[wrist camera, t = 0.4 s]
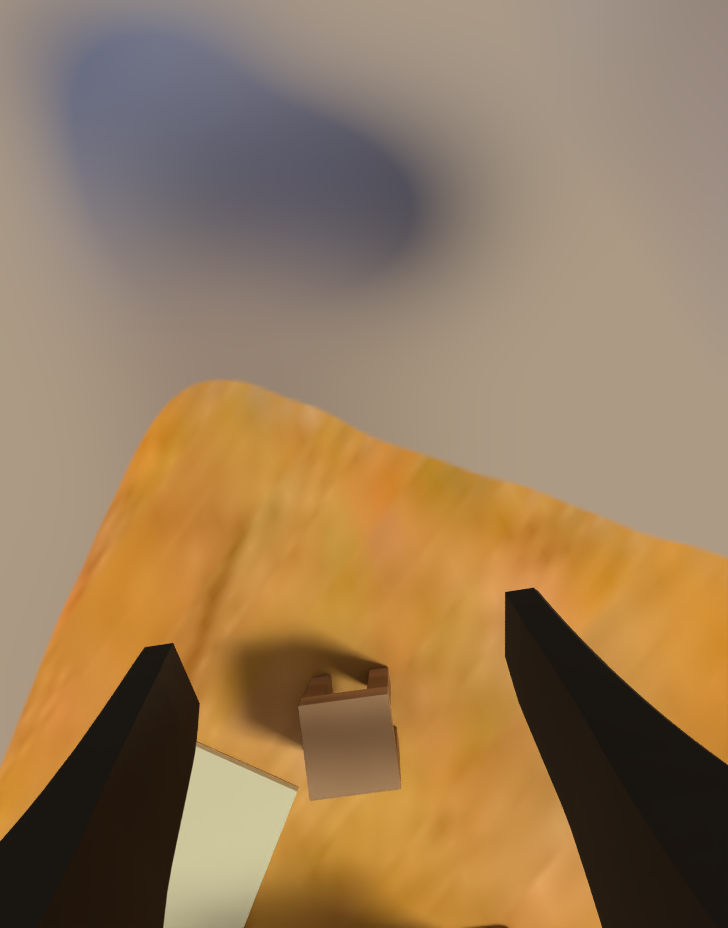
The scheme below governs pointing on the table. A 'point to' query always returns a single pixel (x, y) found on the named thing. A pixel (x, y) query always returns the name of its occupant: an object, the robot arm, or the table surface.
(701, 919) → the robot arm
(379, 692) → the stool
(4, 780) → the table surface
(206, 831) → the mat
